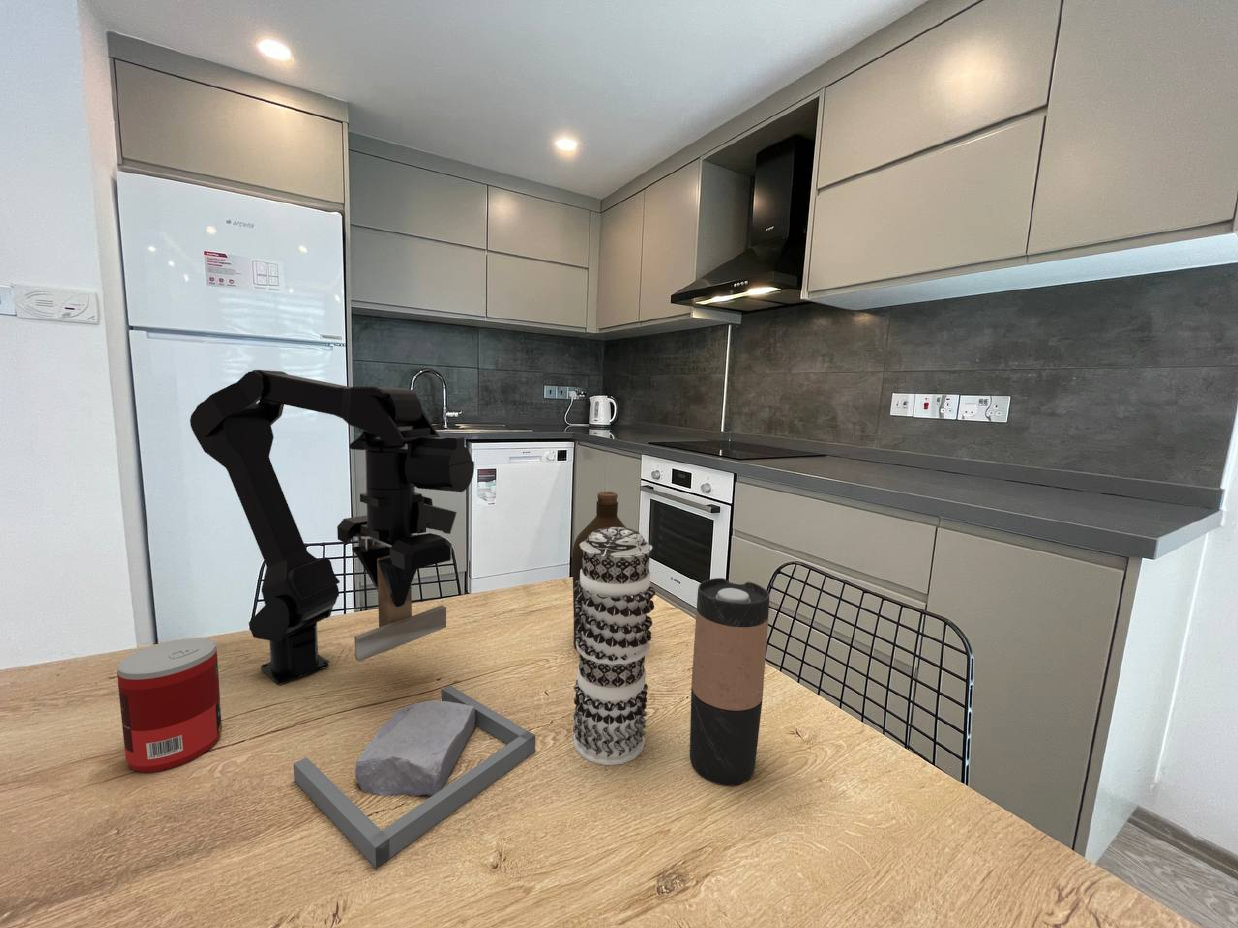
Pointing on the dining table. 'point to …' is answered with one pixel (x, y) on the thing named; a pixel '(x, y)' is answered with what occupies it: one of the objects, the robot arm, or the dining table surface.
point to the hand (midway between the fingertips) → (393, 602)
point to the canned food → (169, 703)
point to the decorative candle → (612, 645)
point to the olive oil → (603, 519)
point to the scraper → (396, 623)
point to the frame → (433, 810)
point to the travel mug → (728, 679)
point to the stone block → (415, 749)
